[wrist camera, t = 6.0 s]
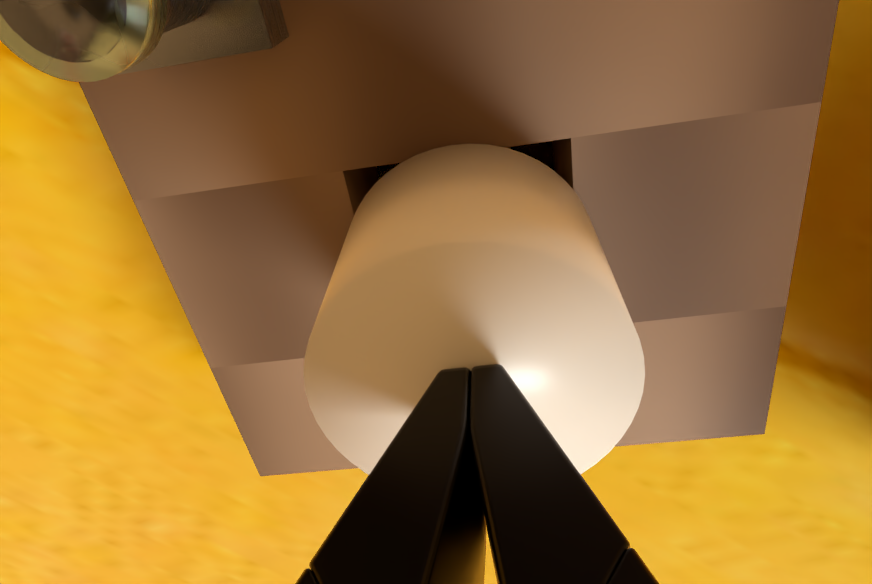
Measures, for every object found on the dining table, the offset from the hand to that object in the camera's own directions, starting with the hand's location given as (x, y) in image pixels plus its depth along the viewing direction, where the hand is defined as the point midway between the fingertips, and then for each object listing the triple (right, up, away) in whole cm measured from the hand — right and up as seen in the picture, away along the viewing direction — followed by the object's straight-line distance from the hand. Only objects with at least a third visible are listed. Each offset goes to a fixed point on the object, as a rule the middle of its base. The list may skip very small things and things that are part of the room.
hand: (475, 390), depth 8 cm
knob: (0, +4, +6) cm, 7 cm away
